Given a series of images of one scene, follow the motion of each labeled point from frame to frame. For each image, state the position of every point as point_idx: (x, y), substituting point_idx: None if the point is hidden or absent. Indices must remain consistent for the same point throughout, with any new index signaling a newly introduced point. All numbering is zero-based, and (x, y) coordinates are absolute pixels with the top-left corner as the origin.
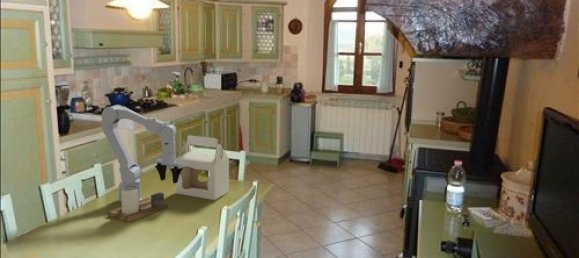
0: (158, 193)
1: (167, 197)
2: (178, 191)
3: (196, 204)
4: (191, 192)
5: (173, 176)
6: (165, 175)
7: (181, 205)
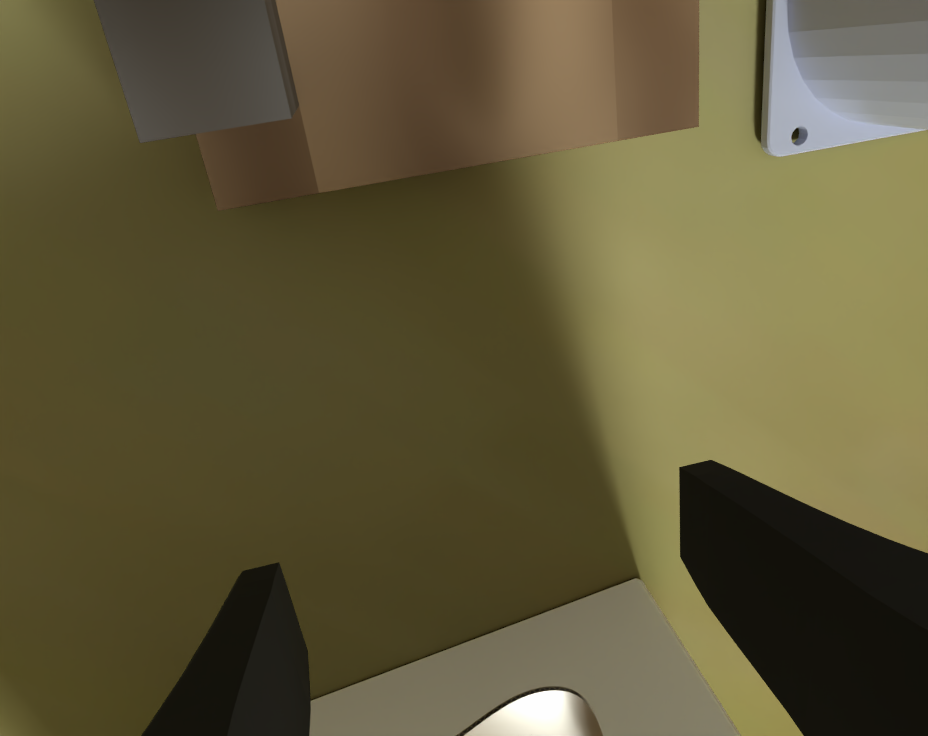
0: (209, 19)
1: (605, 436)
2: (611, 611)
3: (86, 567)
4: (425, 697)
5: (182, 727)
6: (735, 640)
7: (186, 406)
